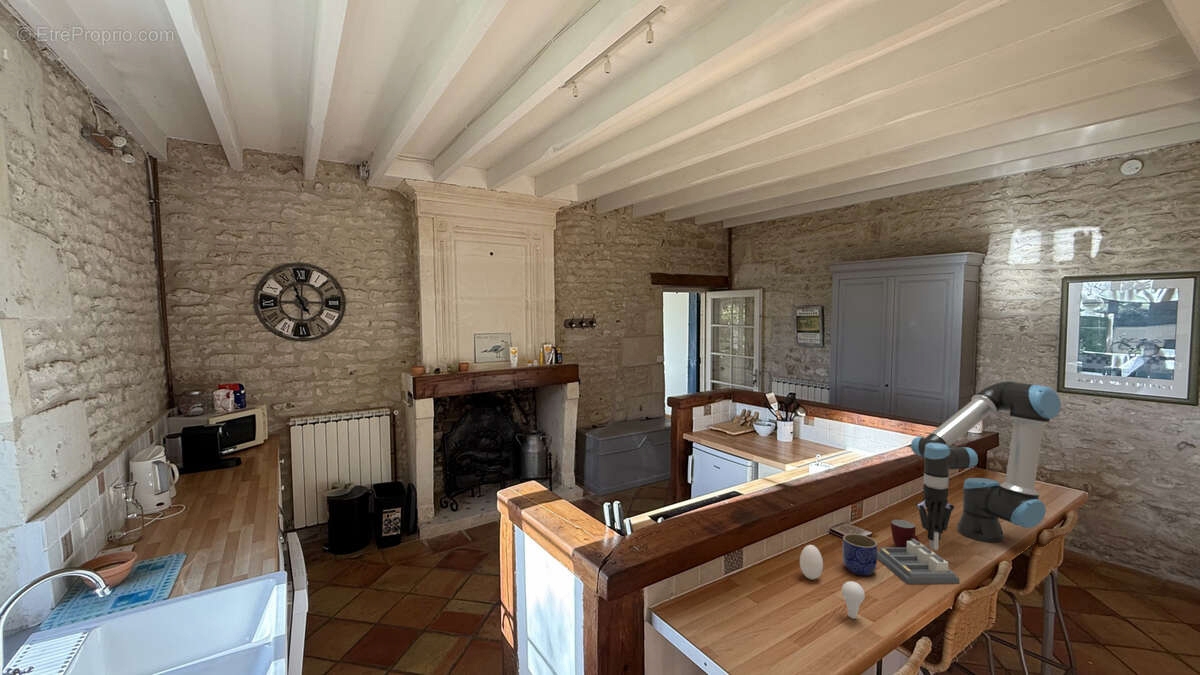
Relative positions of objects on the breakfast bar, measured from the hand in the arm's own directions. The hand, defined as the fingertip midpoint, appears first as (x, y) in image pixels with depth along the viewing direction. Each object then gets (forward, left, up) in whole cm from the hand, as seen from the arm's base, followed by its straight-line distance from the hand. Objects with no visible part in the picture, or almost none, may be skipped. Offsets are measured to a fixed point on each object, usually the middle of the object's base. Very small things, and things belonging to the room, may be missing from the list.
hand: (933, 548), depth 180 cm
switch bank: (+11, +6, -5) cm, 13 cm away
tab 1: (+7, 0, -3) cm, 7 cm away
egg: (+51, +11, -5) cm, 52 cm away
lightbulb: (+48, +33, -5) cm, 59 cm away
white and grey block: (+7, +12, -3) cm, 14 cm away
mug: (+5, -8, -5) cm, 10 cm away
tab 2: (+7, +6, -3) cm, 9 cm away
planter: (+31, +6, -5) cm, 32 cm away
